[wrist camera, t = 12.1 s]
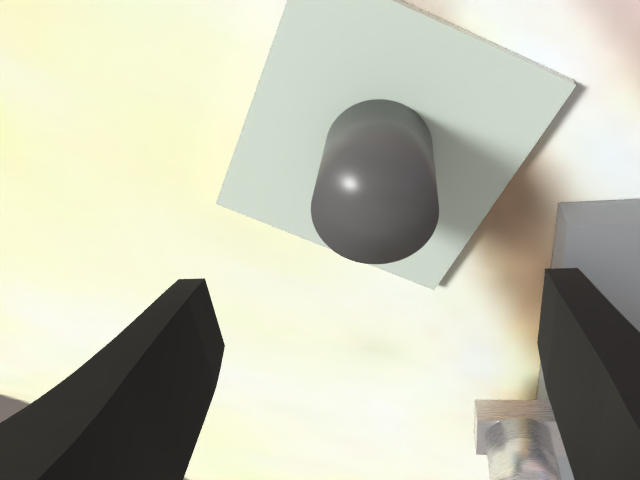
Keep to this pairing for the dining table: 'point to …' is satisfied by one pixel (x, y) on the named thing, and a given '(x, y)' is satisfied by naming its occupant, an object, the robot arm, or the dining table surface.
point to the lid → (386, 132)
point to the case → (600, 260)
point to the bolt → (518, 439)
